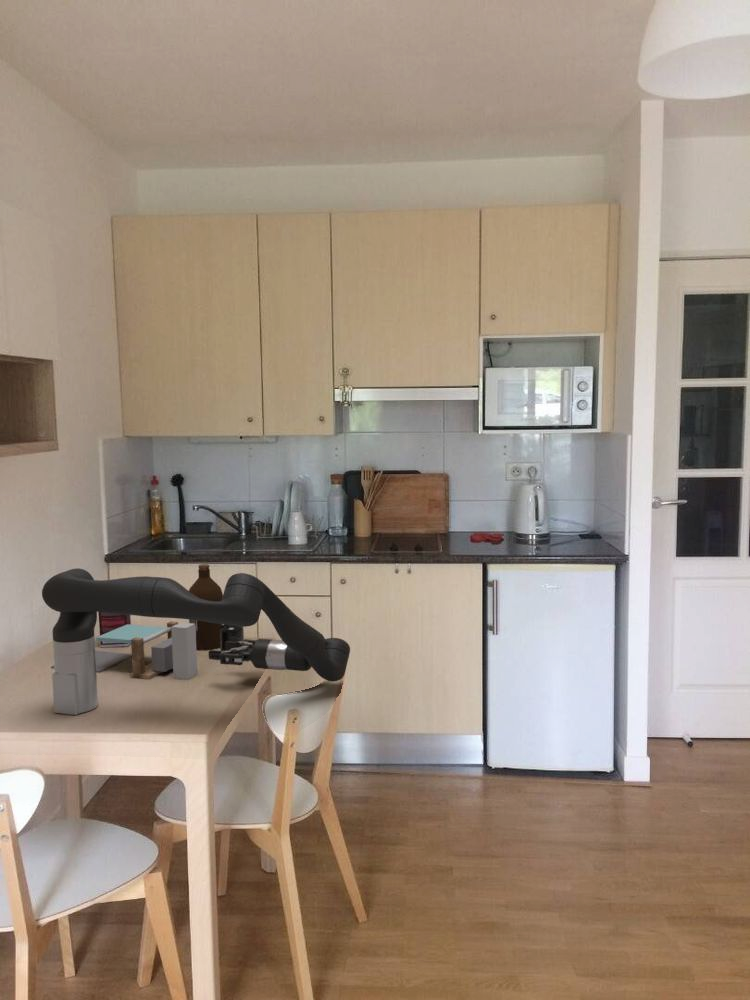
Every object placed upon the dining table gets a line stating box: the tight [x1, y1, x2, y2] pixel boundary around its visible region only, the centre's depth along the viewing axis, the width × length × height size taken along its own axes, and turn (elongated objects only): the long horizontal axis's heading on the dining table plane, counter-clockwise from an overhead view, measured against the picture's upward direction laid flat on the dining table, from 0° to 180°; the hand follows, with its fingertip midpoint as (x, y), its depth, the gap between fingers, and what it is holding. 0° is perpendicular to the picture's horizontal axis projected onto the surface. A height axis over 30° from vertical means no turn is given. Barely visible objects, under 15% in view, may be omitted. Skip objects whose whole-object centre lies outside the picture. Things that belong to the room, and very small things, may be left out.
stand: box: [129, 621, 179, 680], centre depth 214 cm, size 6×19×10 cm, turn 163°
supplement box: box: [97, 612, 132, 648], centre depth 237 cm, size 9×5×16 cm, turn 94°
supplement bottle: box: [219, 625, 245, 658], centre depth 223 cm, size 7×7×12 cm
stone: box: [171, 622, 198, 681], centre depth 206 cm, size 4×4×14 cm
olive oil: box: [188, 563, 224, 651], centre depth 233 cm, size 11×11×25 cm
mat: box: [50, 650, 132, 673], centre depth 221 cm, size 16×16×1 cm
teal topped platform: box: [95, 624, 173, 673], centre depth 215 cm, size 21×14×8 cm, turn 73°
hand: (217, 649), depth 203 cm, fingers open, 8 cm apart
